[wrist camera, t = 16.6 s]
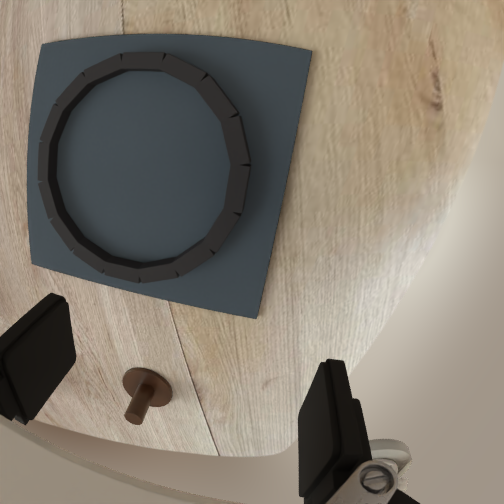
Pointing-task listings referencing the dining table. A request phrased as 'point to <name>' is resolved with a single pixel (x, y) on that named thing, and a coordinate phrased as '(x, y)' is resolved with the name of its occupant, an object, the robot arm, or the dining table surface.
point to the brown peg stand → (144, 393)
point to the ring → (234, 145)
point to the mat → (167, 162)
